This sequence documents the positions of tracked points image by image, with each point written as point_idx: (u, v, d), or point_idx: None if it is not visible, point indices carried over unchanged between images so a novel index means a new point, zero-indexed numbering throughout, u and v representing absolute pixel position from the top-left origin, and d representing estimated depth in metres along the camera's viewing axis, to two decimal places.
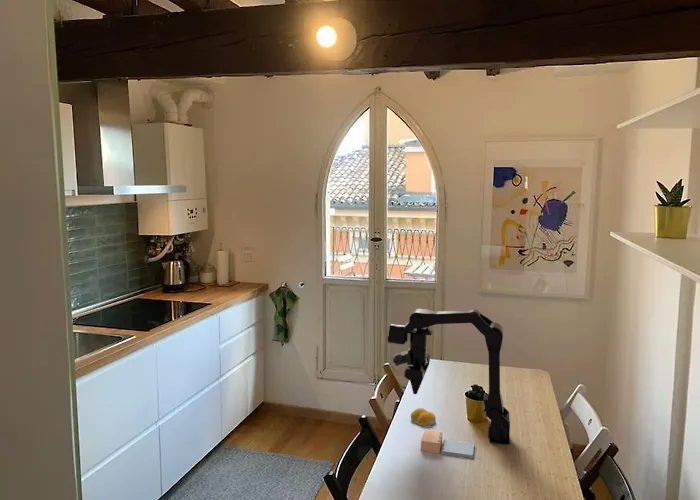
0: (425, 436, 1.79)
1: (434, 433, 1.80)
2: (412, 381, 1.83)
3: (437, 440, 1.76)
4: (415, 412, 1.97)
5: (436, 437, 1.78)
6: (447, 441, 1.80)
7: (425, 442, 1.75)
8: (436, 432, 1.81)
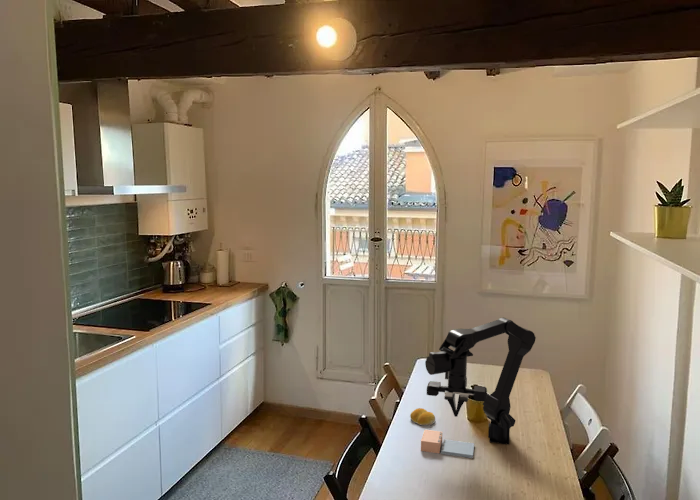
0: (425, 436, 1.79)
1: (434, 433, 1.80)
2: None
3: (437, 440, 1.76)
4: (415, 412, 1.97)
5: (436, 437, 1.78)
6: (447, 441, 1.80)
7: (425, 442, 1.75)
8: (436, 432, 1.81)
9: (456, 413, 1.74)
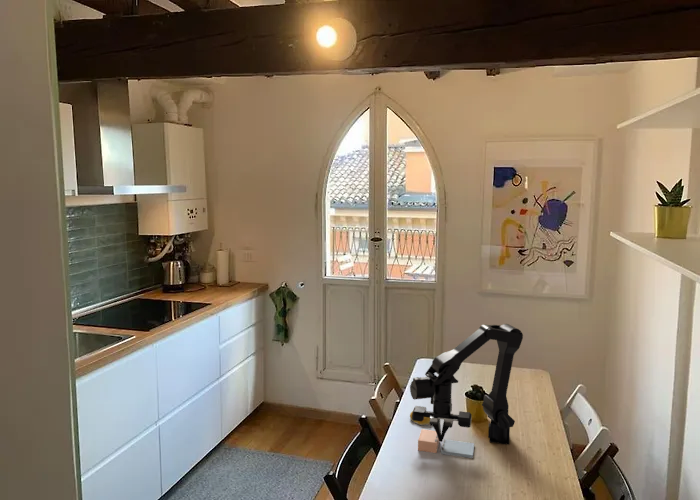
0: (422, 435, 1.79)
1: (431, 433, 1.80)
2: None
3: (434, 440, 1.76)
4: None
5: (434, 437, 1.78)
6: (447, 441, 1.80)
7: (422, 442, 1.76)
8: (434, 432, 1.81)
9: (441, 438, 1.77)
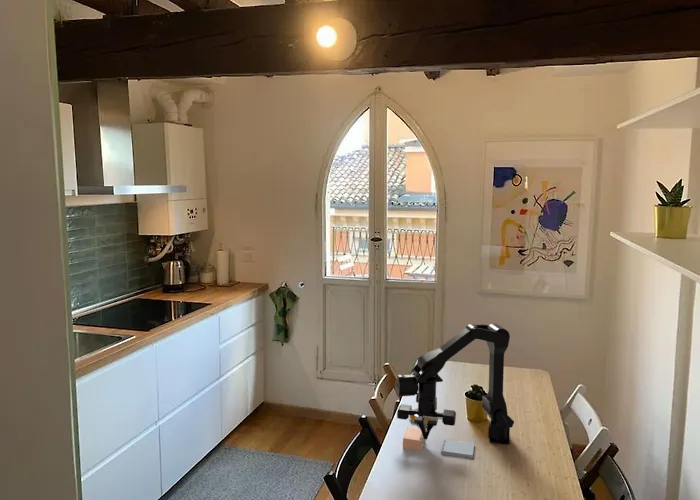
0: (408, 433, 1.80)
1: (417, 431, 1.82)
2: None
3: (419, 438, 1.77)
4: None
5: (418, 435, 1.79)
6: (447, 441, 1.80)
7: (406, 440, 1.77)
8: (419, 430, 1.83)
9: (426, 436, 1.78)
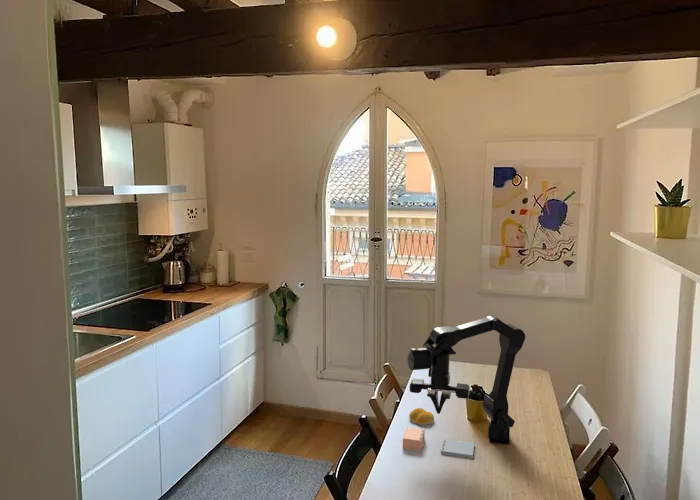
0: (407, 433, 1.80)
1: (416, 431, 1.82)
2: None
3: (419, 437, 1.77)
4: (414, 412, 1.97)
5: (418, 435, 1.79)
6: (447, 441, 1.80)
7: (406, 440, 1.77)
8: (419, 430, 1.83)
9: (439, 410, 1.76)
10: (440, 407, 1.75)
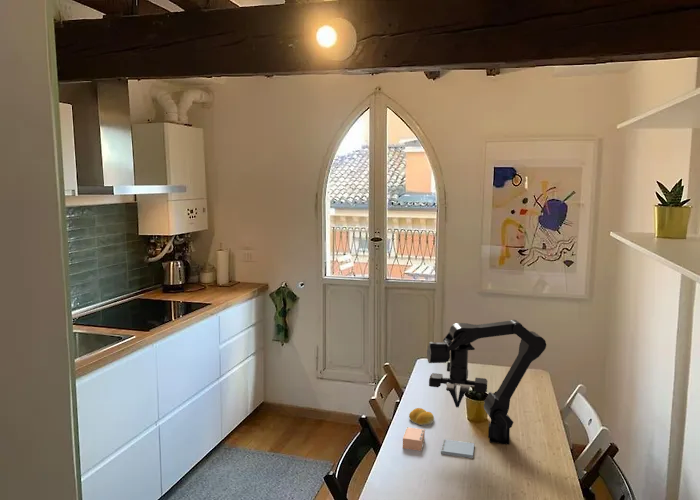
0: (407, 433, 1.80)
1: (416, 431, 1.82)
2: None
3: (419, 437, 1.77)
4: (413, 412, 1.97)
5: (418, 435, 1.79)
6: (447, 441, 1.80)
7: (406, 440, 1.77)
8: (419, 430, 1.83)
9: (457, 404, 1.80)
10: (459, 401, 1.79)
